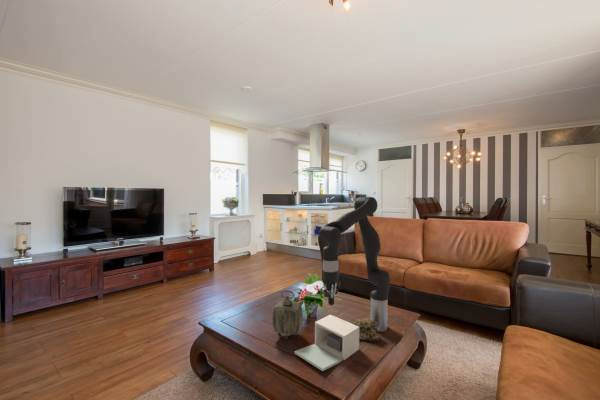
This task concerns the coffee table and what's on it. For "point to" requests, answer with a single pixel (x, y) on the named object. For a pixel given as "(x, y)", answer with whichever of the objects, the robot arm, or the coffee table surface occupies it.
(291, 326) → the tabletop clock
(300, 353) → the door
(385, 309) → the robot arm
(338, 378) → the coffee table surface
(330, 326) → the case
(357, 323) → the mineral specimen
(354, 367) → the coffee table surface
